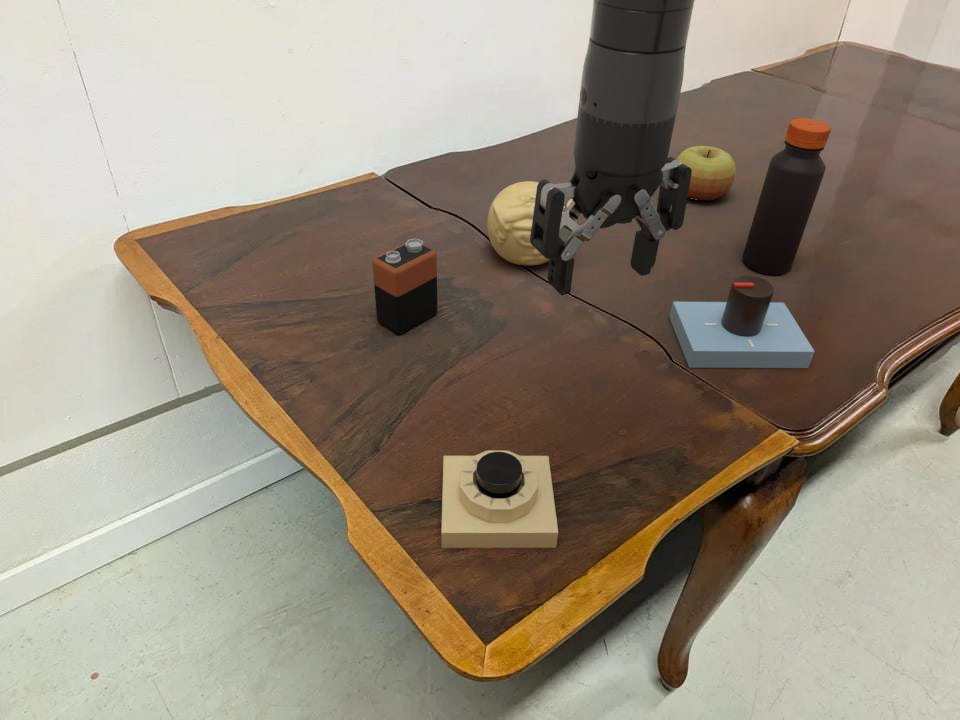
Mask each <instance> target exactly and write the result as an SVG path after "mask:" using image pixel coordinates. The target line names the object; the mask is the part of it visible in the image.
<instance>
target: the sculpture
mask: <svg viewBox="0 0 960 720" xmlns="http://www.w3.org/2000/svg"><path fill="white" fill-rule="evenodd" d="M539 182H540V181H539ZM539 182H538V181H531V180H530V181H519V182H515V183H512V184H510V185H508V186H506V187H505V188H503V189H502V190H501V191H499V193H498V194H497V195H496V196H495V197H494V199H493V200H492V201H491V202H492V203H491V204H490V207H489V209H488V213H487V220H486V226H487V235H488V238H489V241H490V244H491V246H492V248H493V249H494V251H495V252H496V253H497V254H498V255H499V256H500V257H501V258H502V259H503V260H505V261H507V262H509V263H511V264H514V265H520V266H530V267H532V266H533V267H534V266H538V265H539V266H540V265H543V264H545V263H549V259H547V258H545V257H544V256H543V255H542V254H541V253H540V252H539V251H538V250H537V249H536V248H535V247H534V246H533V245H532V244H531V243H530V236H531V229H532V221H533V214H534V206H535V199H536V191H537V185H538V183H539ZM572 201H573V199H572V198H571V199H570V200H569V201H568V203H567V205H566V206H567V207H568V206H569V205H570V203H571V202H572ZM563 213H564V212H562V214H563ZM571 235H572V233H571V234H570V235H569V236H568V238H567V239H566V240H565V243H566V242H567V240H568V239H569V238H570V236H571Z"/></svg>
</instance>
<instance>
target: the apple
mask: <svg viewBox="0 0 960 720" xmlns="http://www.w3.org/2000/svg"><path fill="white" fill-rule="evenodd" d="M676 159H677V160H679V161H680V162H682V163H684V164H685V165H686V166H688V167H690V168H691V170H692V174H691V180H690V186H689V192H688V197H689V198H693V199H697V200H710V201H713V200H716V198H717V199H719V198H721V197H722V196H724V195H725V194H726V193H727V192H729V190H730V189H731V188H732V186H733V184H734V182H735V177H736V172H737V167H736V163H735V161H734V159H733V157H732V155H731V154H729V153H728V152H727V151H725V150H723V149H721V148H718V147H715V146H710V145H696V146H690V147H688V148H686V149H684V150H683V151H681V153H679V154H678V156H677V157H676ZM689 198H688V199H689ZM693 199H692V200H693ZM697 200H696V201H697Z"/></svg>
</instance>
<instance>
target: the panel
mask: <svg viewBox="0 0 960 720" xmlns="http://www.w3.org/2000/svg"><path fill="white" fill-rule="evenodd" d="M726 303H727V301H672V305H671V309H670V313H669V321H670V322H671V325H672V328H673V330H674V331H673V332H674V334H675V336H676V338H677V341H678V344H679V346H680V348H681V351H682V353H683V356H684V358H685V361H686V364H687V366H688V368H689V369H702V368H703V369H809V368H810V365H811V363H812V360H813V358H814V354H815V353H816V351H815V349H814V347H813V346H812V345H811V343H810V341H809V340H808V338H807V337H806V335H805V333H804V332H803V330H802V329H801V327H800V326H799V324H798V322H797V321H796V319H795V318H794V316H793V315H792V313H791V311H790V310H789V308H788V307H787V305H786V304H785V302H783V301H782V302H779V301H778V302H773V301H772V302H770V305H769V308H768V311H767V314H766V317H765V320H764V323H763V326H762V329H761V331H760V333H758V334H757V335H754V336H739V335H736V334H733V333H731V332H729V331H728V330H726V329H725V328H724V327H723V325H722V323H721V320H722V317H723V313H724V310H725V306H726Z"/></svg>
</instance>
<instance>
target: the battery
mask: <svg viewBox="0 0 960 720" xmlns="http://www.w3.org/2000/svg"><path fill="white" fill-rule="evenodd" d="M424 243H425V242H424V241H423V240H422V239H420V238H410V239H408V240H407V241H406V242H404V243H403V244H400V245H399V246H396V247H393V248H391V249H390V250H388V251H386V252H384V253H382V254H380V255H377V256H375V257H373V258H372V261H371V264H372V273H373V276H372V277H373V287H374V288H373V289H374V299H375V312H376V319H377V320H376V321H377V322H378V323H379V324H381V325H382V326H384V327H386V328H387V329H389V330H391V331H392V332H394V333H396V334H397V335H402V334H404V333H405V332H407V331H409V330H410V329H413V328H414V327H416V326H418V325H419V324H421V323H423V322H424V321H427V320H428V319H429V318H431V317H433V316H435V315H436V314H437V313H438V265H437V264H438V261H437V260H438V258H437V255H438V253H437V251H436V250H434V249H433V248H431V247H428V246H426V245H425V244H424Z"/></svg>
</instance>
